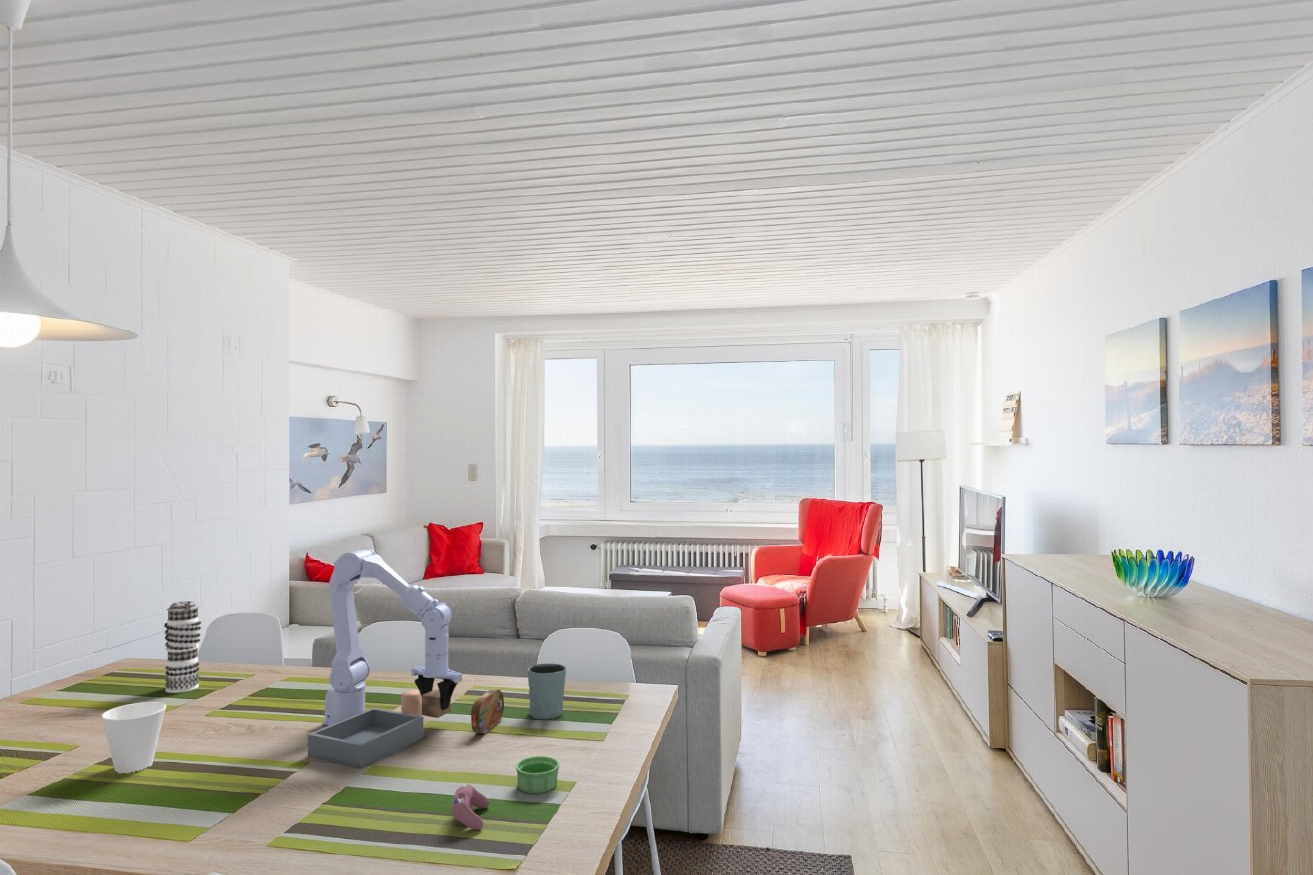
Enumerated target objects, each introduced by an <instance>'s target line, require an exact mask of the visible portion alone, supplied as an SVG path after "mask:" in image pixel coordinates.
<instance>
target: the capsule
mask: <svg viewBox="0 0 1313 875" xmlns="http://www.w3.org/2000/svg"><path fill="white" fill-rule="evenodd" d="M400 699H401V700H400V706H401V708H400V709H401V710H400V711H401V712H400V713H406V714H411V715H417V716H422V717H423V715H422V697H421V694H420V691H419V689H416V690H415V689H410V690H406V691H403V692H402V693H401V694H400Z"/></svg>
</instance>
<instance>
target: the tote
mask: <svg viewBox="0 0 1313 875" xmlns="http://www.w3.org/2000/svg"><path fill="white" fill-rule="evenodd" d="M423 738H424V716H423V715H422V716H417V715H411V714H406V713H401V712H399V711H393V710H389V709H383V708H378V707H371V708H369V709H367V710H366V709H365V711H364V712H362V713H359V714H357V715H354V716H352V717H349V718H347V719H344V720H342V721H339V722H337V723H334V724H332V725H330V726H329V725H326V726H325V727H323V728H320V729H317V730H315V731H312V732H310V733H308V734H307V757H309V758H313V759H317V760H322V761H326V762H329V763H334V764H337V765H338V764H340V765H343V766H347V767H352V768H357V769H362V768H364V767H366V766H369V765H370V764H372V763H375V762H377V761H378V760H381V759H382V758H385V757H387V756H388V755H391V754H392V753H394V752H397V751H398V750H401V749H402V748H404V747H408V745H411V744H413V743H415V742H417V741H419V740H421V739H423Z"/></svg>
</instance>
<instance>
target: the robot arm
mask: <svg viewBox="0 0 1313 875" xmlns="http://www.w3.org/2000/svg"><path fill="white" fill-rule="evenodd" d="M333 566H334V568H333V571H332V574H331V577H330V579H329V593H330V594H329V595H330V602H331V605H330V606H331V611H332V620H333V631H334V640H335V648H336V652H335V655H334V657H333V659H332V661H331V672H330V674H329V683H330V685H331V687H330V688H329V689H328V690H327V692H326V695H325V699H324V721H322V725H324V726H325V725H326V726H330V725H332V724H334V723H337V722H339V721H342V720H344V719H347V718H349V717H352V716H354V715H357V714H359V713H362V712H364V711H366V679H367V678H369V675H370V674H371V673H370V672H371V667H370V664H369V662H368V660H367V658H366V653H365V651H364V650H363V649H362V648H361V647H360V642H359V632H358V624H357V623H358V622H357V614H356V607H355V597H354V596H355V594H354V586H355V585H356V584H357V583H358V581H359V580H360V579H362V578H367V579H368V578H371V579H372V578H375V579H376V580H378V581H379V582H381V583H382V584H384V585H385V586H386V587H387V588H388V589H390V590H392V591H393V592H394V593H395V594H397V595H399V599H400V603H401V604H402V605H403V606H404V607H405V608H406V609H407V610H409V611H410V612H411V613H413V614H414V615H415V616H416V617H418V619H420V622H421V625H422V627H423V628H424V634H425V635H424V638H425V639H424V666H420V665H419V666H418V665H417V666H414V667H411V676H412V677H416V676H417V678H415V679H414V684H415V685H416V687H417V690H418V691H420V694H421V697H422V695H423V694H425V693H428V692H430V691H433V690H434V689H433V687H434V683H435V680H436V679H437V680H442V681H440V682H437V684H436V685H437V687H438V690H439V692H440V702H441V710H445V709H447V708H449V704H450V700H451V701H452V696H453V693H454V691H455V688H456V687H457V685H458V684H459V683H460V682H462V681H463V673H462V672H457V671H455V670H453V669H450V668H449V638H450V637H449V636H450V634H449V623H450V622H451V620H452V618H453V611H452V609H451V607H450V606H449V605H448V603H446V602H439V600H438V599H437V598H435V599H434V598H433V597H432V596H431V594H429V593H427V592H426V591H425V590H426V589H425V588H424V587H423V586H422V585H420V586H419V585H417V584H415V585H414V584H413V585H410V584H409V583H408V582H407V581H405V579H404V578H402V577H401V576H400V575H399V574H398V573H397V572H396V571H395V570H394V569H393V568H392V567H390V566H389V565H388V563H386V562H385V560H384V559H383V558H382V556H381V555H379V554H378V553H375V551H374V550H373V549H370V548H368V547H365V548H361V549H359V550H355V551H351V552H349V551H348V552H343V553H342V554H341V555H340V556H339V557H338V558H337V559H336V560H335V561H334V562H333Z"/></svg>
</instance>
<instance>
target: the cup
mask: <svg viewBox="0 0 1313 875" xmlns="http://www.w3.org/2000/svg"><path fill="white" fill-rule="evenodd" d="M166 709H167V705H166V704H165V703H164V702H158V701H145V702H135V703H131V704H124V705H119V706H117V707H114V708H111V709H108V710H107V711H105V712H103V713H102V714H101V719H102V724H103V727H104V730H105V731H104V732H105V735H106V739H107V744H108V748H109V752H110V756H111V759H112V764H113V768H114V772H115V771H116V772H118V773H117V774H122V773H125V774H131V772H133V773H136V772H135V771H138V772H141V771H144V770H146V769H148V768H147V767H149V766H150V767H152V766H153V763H154V757H155V754H156V750H157V745H158V743H159V737H160V733H161V728H162V725H163V722H164V721H163V720H164V716H165V713H166ZM150 767H149V768H150ZM145 768H146V769H145ZM143 769H144V770H143ZM140 770H141V771H140ZM116 772H115V773H116Z"/></svg>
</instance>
